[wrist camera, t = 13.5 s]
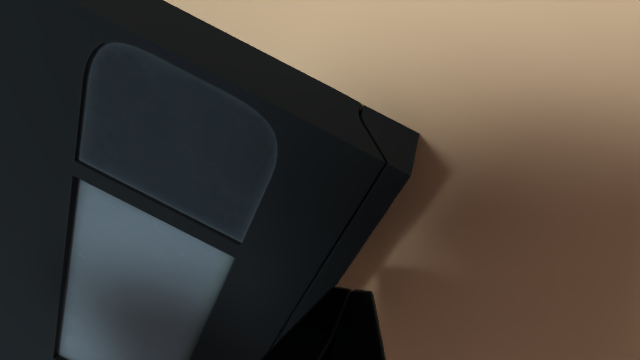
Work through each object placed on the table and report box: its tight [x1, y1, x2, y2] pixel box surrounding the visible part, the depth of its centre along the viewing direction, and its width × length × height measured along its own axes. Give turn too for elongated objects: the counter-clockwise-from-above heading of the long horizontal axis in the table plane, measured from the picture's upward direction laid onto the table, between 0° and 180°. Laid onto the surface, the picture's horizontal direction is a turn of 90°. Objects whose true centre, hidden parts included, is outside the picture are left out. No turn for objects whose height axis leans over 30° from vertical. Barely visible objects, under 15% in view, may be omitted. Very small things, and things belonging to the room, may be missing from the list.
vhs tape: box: [0, 0, 419, 360], centre depth 13 cm, size 8×14×2 cm, turn 157°
